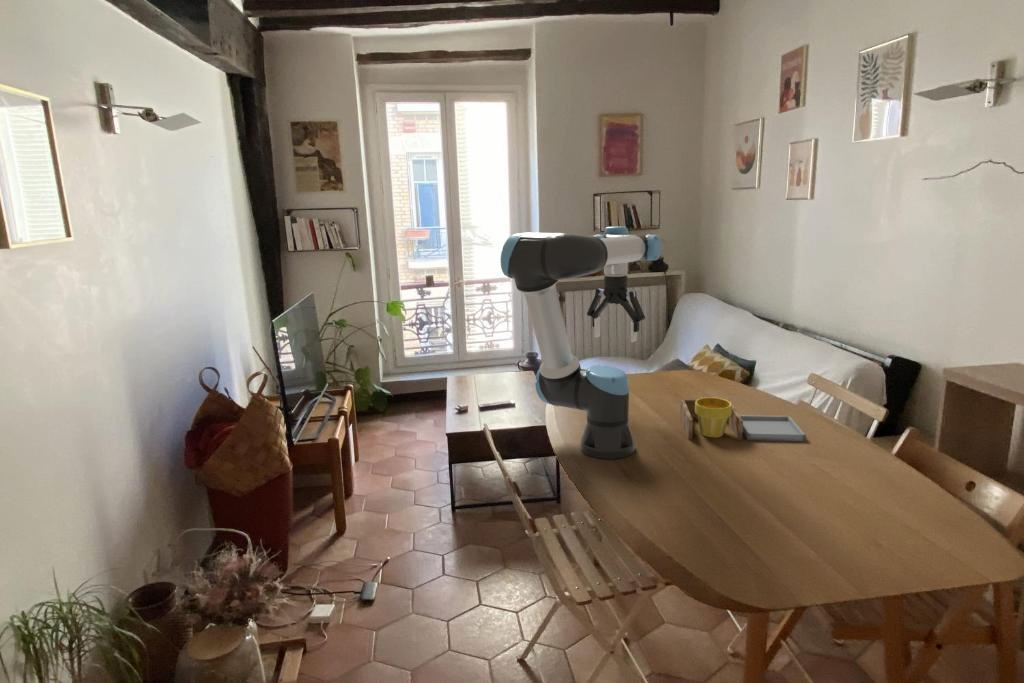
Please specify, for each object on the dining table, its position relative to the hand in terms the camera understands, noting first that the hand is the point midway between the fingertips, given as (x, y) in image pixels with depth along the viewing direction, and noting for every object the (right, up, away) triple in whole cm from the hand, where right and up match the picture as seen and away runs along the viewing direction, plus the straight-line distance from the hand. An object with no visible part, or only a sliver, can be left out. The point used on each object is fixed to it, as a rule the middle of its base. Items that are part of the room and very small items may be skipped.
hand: (615, 339), depth 204 cm
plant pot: (+26, -28, -20) cm, 43 cm away
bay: (+26, -27, -16) cm, 41 cm away
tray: (+43, -27, -20) cm, 54 cm away
